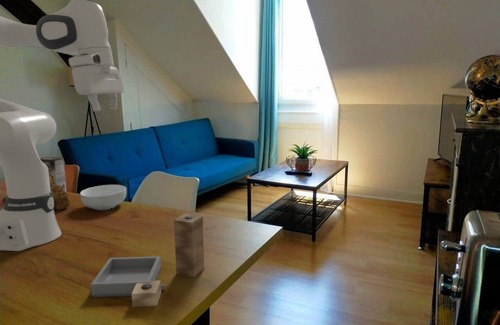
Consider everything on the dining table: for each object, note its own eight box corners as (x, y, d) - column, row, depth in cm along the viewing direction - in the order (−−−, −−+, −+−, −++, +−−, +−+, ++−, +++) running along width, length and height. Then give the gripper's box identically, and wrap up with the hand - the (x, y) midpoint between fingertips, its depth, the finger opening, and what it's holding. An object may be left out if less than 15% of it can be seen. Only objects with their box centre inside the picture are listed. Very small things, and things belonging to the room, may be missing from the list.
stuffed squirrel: (48, 204, 143) (44, 172, 141) (78, 206, 140) (75, 173, 138) (28, 212, 134) (23, 178, 131) (60, 214, 131) (56, 179, 128)
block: (176, 273, 87) (173, 219, 84) (187, 264, 92) (185, 213, 89) (194, 277, 85) (191, 222, 82) (204, 268, 90) (202, 215, 87)
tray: (92, 297, 77) (90, 284, 76) (110, 269, 89) (109, 257, 89) (150, 295, 78) (149, 282, 77) (161, 267, 90) (160, 256, 90)
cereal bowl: (94, 200, 148) (92, 184, 146) (133, 200, 147) (132, 184, 146) (73, 214, 131) (71, 195, 130) (117, 214, 130) (115, 196, 129)
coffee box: (39, 194, 156) (34, 159, 153) (49, 190, 163) (45, 156, 159) (57, 195, 155) (53, 159, 152) (67, 191, 161) (63, 157, 158)
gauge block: (130, 306, 73) (129, 293, 73) (138, 289, 80) (137, 276, 80) (159, 305, 74) (158, 292, 73) (165, 288, 81) (164, 275, 80)
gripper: (105, 64, 110) (113, 109, 113) (64, 59, 90) (75, 113, 93) (124, 62, 109) (131, 107, 112) (87, 56, 89) (97, 110, 92)
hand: (105, 110), depth 102 cm, fingers open, 8 cm apart
